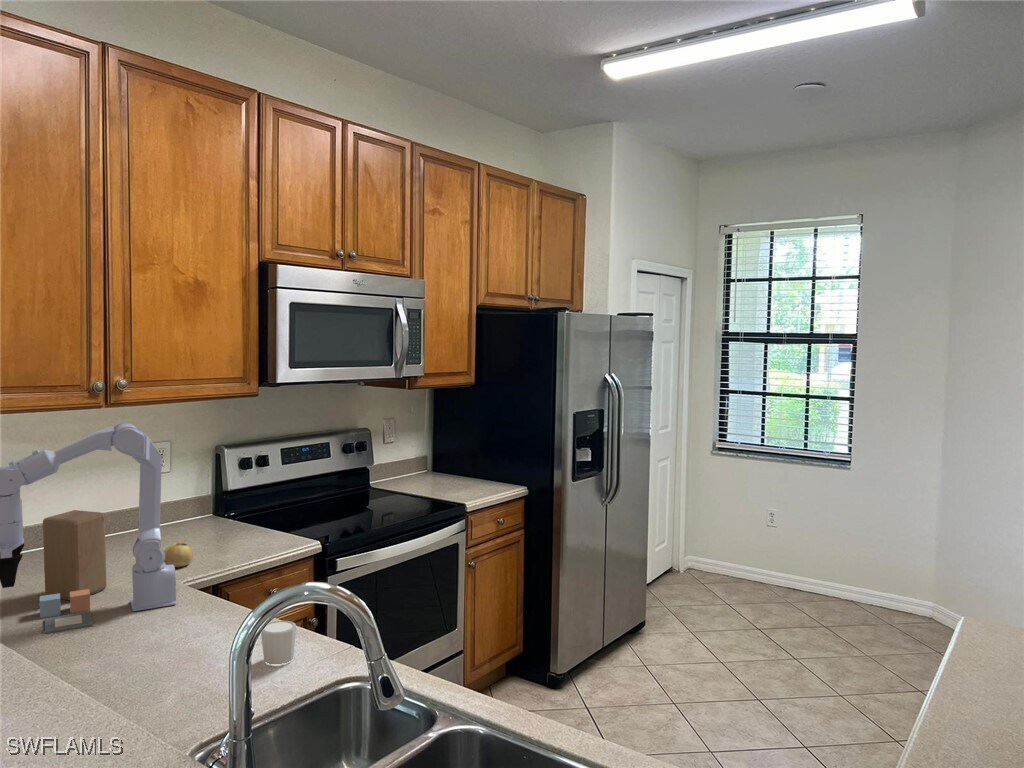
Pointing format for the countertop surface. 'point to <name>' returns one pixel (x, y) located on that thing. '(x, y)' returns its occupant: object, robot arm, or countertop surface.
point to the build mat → (68, 622)
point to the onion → (178, 554)
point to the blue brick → (50, 605)
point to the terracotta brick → (79, 601)
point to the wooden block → (74, 553)
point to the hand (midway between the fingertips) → (9, 581)
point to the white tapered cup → (278, 642)
